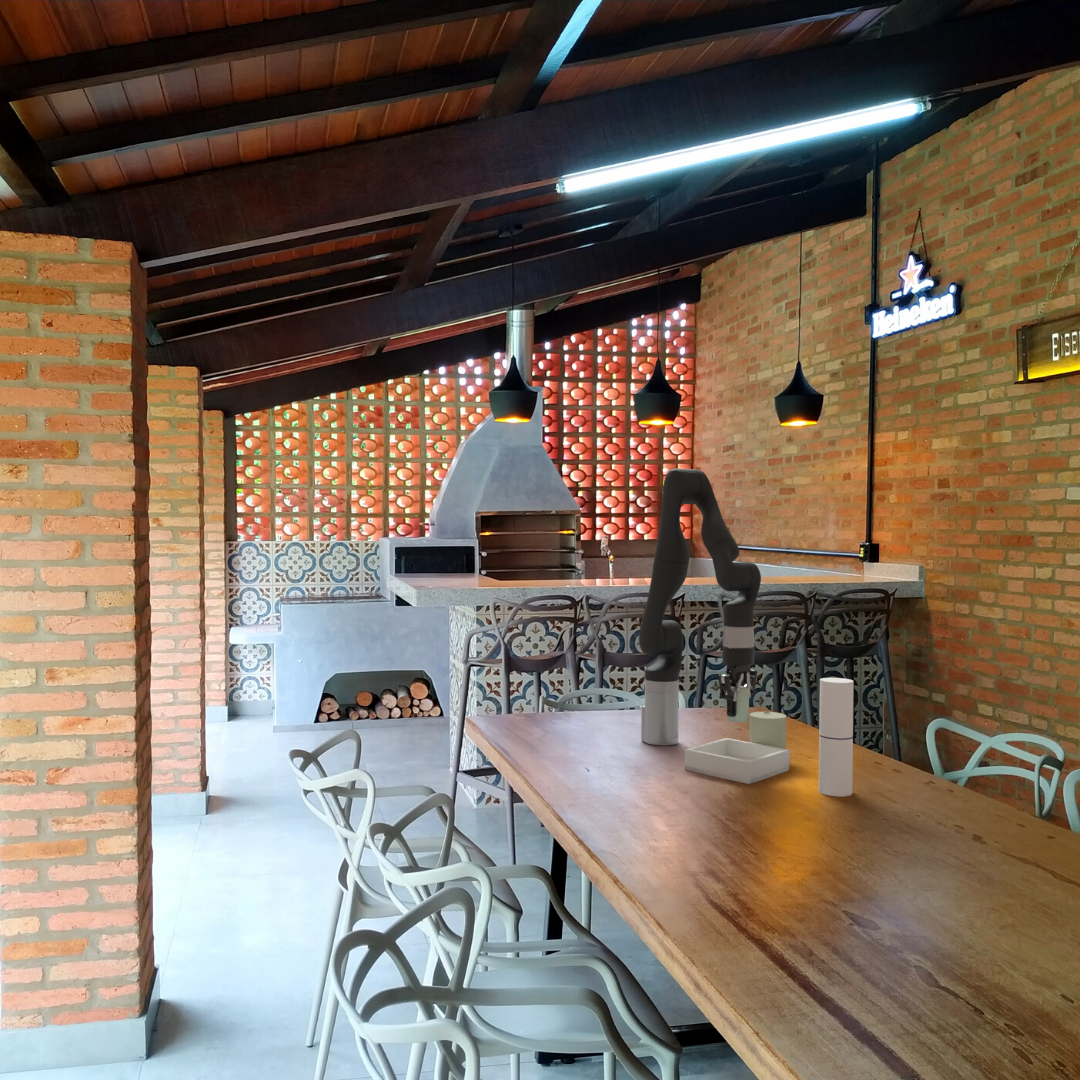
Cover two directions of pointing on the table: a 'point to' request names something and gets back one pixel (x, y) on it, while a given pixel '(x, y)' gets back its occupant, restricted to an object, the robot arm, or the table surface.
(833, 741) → the cylindrical container
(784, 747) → the can
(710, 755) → the grey tub
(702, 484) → the robot arm
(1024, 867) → the table surface
